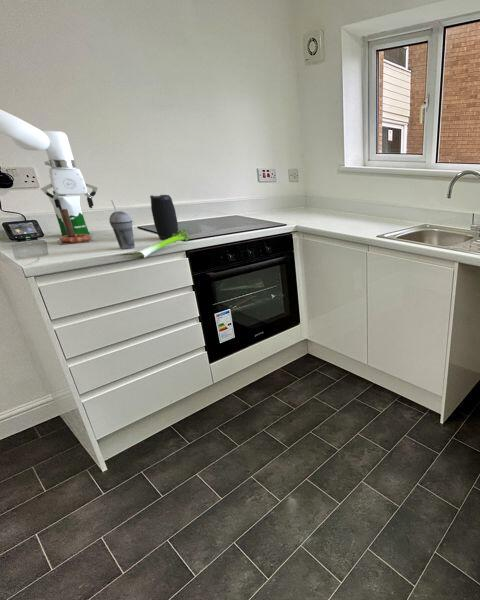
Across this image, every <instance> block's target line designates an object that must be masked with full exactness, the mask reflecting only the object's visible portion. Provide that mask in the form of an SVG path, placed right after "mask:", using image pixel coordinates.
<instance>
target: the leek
mask: <svg viewBox="0 0 480 600" xmlns="http://www.w3.org/2000/svg"><path fill="white" fill-rule="evenodd" d="M177 232H178V233H177V234H174V235H173V234H172V237H171V238H168V239H166V240H162V241H159V242H156V243H153V244H151V245H149V246H147V247H144V248H142V249H139V250H137V251H135V252H134V254H133V255H134V256H136V255H138V254H141V255H142V257H143V259H145V258H146V257H148V256H149V255H151V254H152V253H153V252H155V251H157V250H159V249H162V248H163V247H166V246H167V245H171V244H174V243H177V242H180V241H185V243H187V242H188V241H189V240H191V238H190V236H191V234H187V232H188V229H181V230H180V229H178V231H177ZM182 235H183V236H182ZM177 237H178V238H177Z"/></svg>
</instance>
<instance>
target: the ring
mask: <svg viewBox="0 0 480 600" xmlns="http://www.w3.org/2000/svg"><path fill="white" fill-rule="evenodd" d="M75 236H76V237H70V238H68V236H67V235H64V236H62V235H61V236H59V239H58V240H60V241H62V242H82V241H87V240H88V241H89V240H92V235H91V234H90V235H89V234H75Z"/></svg>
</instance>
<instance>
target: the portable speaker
mask: <svg viewBox="0 0 480 600" xmlns="http://www.w3.org/2000/svg"><path fill="white" fill-rule="evenodd" d="M149 199H150V209H151V215H152V218H153V219H152V220H153V223H154V227H155V230H156V233H157V235H158V238H159V240H162V241H164V240H166V239H169V238H171V237H172V234H173V235H174V234H177V233H178V232H177V231H178V230H179V222H178V217H177V214H176V213H177V212H176V208H175V205H174V202H173V198H172V197H171V195H169V194H160V195H153V194H152V195H150V197H149ZM177 238H178V237H177Z"/></svg>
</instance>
